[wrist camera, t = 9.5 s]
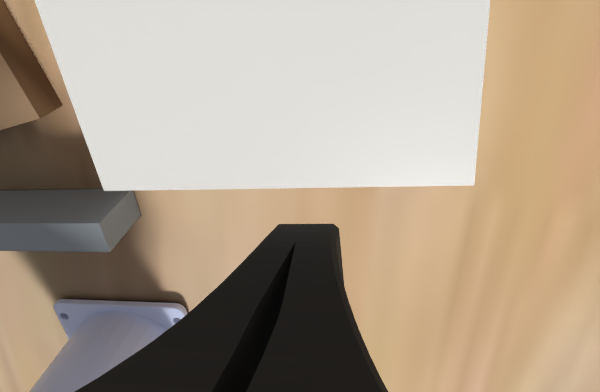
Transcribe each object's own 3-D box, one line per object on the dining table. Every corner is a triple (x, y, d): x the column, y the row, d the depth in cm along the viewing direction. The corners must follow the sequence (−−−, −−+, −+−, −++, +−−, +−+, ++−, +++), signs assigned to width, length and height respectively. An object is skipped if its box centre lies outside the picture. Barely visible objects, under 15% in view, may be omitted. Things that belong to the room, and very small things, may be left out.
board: (466, 161, 19) (474, 185, 17) (126, 169, 22) (103, 190, 20) (496, -234, 13) (512, -258, 11) (22, -149, 16) (-23, -157, 14)
